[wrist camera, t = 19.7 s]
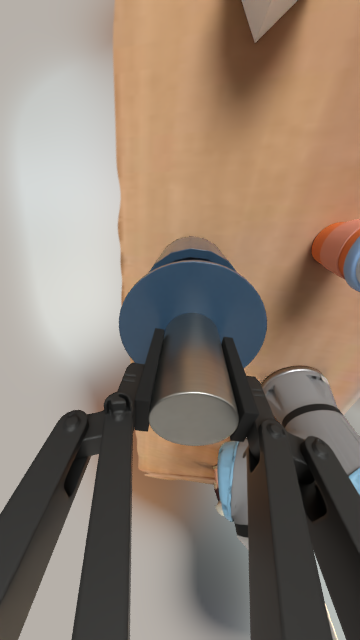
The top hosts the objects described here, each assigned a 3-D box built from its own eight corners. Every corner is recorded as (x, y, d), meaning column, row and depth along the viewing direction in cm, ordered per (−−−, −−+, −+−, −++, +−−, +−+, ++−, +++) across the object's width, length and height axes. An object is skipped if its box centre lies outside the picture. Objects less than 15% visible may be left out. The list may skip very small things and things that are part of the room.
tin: (217, 308, 36) (229, 347, 26) (154, 299, 36) (140, 336, 25) (233, 242, 30) (258, 257, 19) (159, 231, 30) (141, 241, 19)
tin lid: (239, 383, 21) (269, 485, 13) (124, 369, 21) (85, 466, 13) (286, 269, 15) (403, 338, 7) (119, 247, 14) (31, 290, 6)
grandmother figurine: (226, 470, 70) (233, 517, 59) (218, 472, 72) (223, 519, 61) (216, 462, 68) (221, 510, 57) (207, 464, 69) (210, 512, 58)
